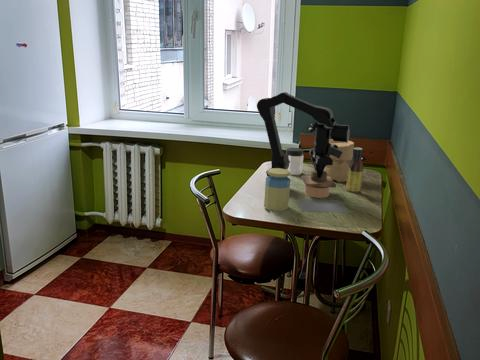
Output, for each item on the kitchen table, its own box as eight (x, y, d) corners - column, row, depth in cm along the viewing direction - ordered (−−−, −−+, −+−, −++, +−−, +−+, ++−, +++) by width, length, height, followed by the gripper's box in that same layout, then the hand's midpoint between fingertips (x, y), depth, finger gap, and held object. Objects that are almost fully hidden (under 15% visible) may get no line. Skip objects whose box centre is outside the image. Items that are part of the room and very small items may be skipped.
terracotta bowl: (306, 199, 181) (308, 187, 180) (302, 191, 191) (303, 180, 189) (331, 200, 182) (332, 188, 180) (325, 192, 191) (327, 181, 190)
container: (350, 183, 207) (355, 145, 202) (323, 180, 209) (327, 143, 204) (348, 176, 219) (352, 140, 214) (322, 173, 221) (326, 138, 215)
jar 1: (264, 204, 173) (266, 167, 169) (288, 206, 172) (291, 168, 168) (263, 212, 165) (265, 173, 160) (287, 214, 164) (291, 175, 159)
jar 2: (288, 169, 225) (290, 146, 222) (303, 172, 222) (305, 148, 218) (281, 173, 218) (283, 149, 214) (297, 176, 214) (299, 152, 211)
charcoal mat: (301, 213, 165) (301, 211, 165) (295, 201, 178) (296, 198, 178) (349, 215, 166) (349, 212, 165) (340, 202, 179) (340, 200, 179)
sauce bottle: (349, 189, 197) (354, 145, 191) (362, 192, 193) (368, 148, 188) (342, 192, 192) (348, 147, 187) (356, 196, 188) (361, 150, 183)
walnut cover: (306, 186, 179) (307, 175, 177) (301, 177, 190) (302, 167, 189) (335, 187, 179) (337, 176, 178) (329, 179, 191) (330, 168, 189)
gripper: (348, 145, 171) (343, 183, 175) (336, 135, 189) (332, 171, 193) (319, 143, 170) (315, 182, 175) (310, 134, 188) (307, 170, 193)
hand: (318, 176), depth 184 cm, fingers open, 3 cm apart
